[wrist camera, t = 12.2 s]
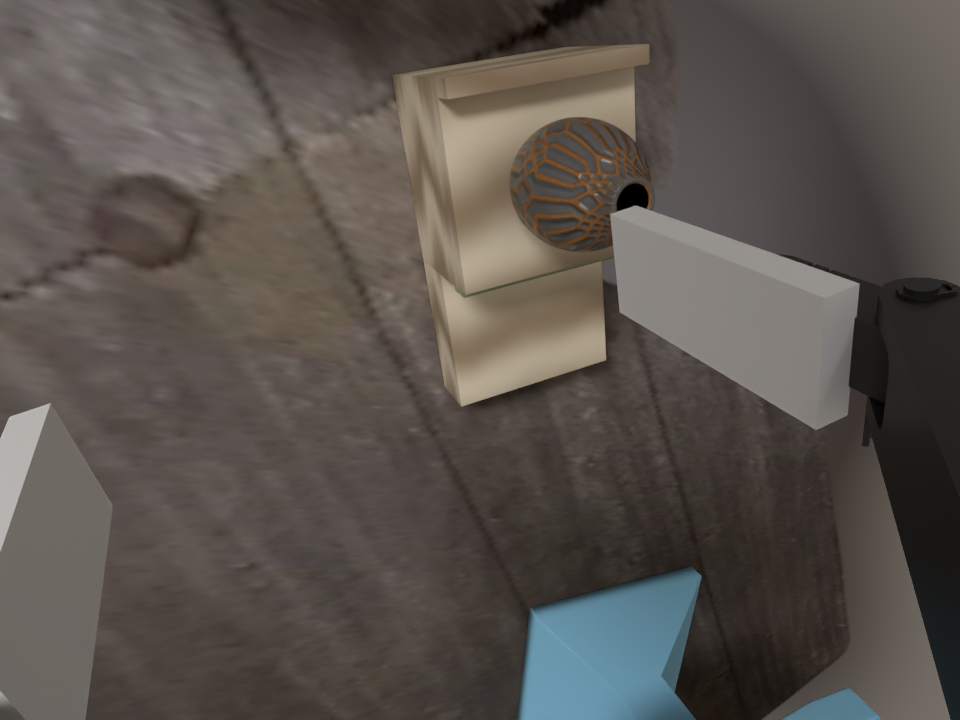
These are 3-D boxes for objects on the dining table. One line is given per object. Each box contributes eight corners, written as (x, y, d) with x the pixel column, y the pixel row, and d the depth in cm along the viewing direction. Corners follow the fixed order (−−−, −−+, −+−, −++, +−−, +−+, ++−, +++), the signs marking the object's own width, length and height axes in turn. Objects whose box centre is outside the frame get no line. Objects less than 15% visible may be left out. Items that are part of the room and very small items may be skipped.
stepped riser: (391, 74, 41) (444, 78, 33) (569, 46, 45) (655, 43, 37) (444, 386, 51) (495, 447, 43) (587, 342, 55) (658, 390, 47)
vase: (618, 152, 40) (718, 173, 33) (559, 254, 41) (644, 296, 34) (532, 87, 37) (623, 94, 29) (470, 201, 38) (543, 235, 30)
